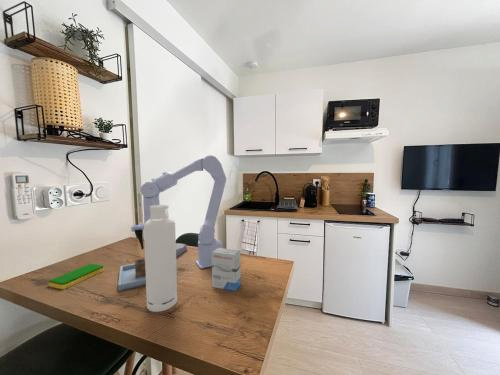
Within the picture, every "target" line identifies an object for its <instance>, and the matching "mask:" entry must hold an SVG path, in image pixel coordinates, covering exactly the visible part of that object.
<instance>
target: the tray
mask: <svg viewBox="0 0 500 375" xmlns="http://www.w3.org/2000/svg"><path fill="white" fill-rule="evenodd" d="M118 276H119V277H118V282H117V290H118V292H122V291H127V290H131V289H135V288H139V287H144V286H146V276H143V277H139V278H136V273H135V263H131V264H125V265H121V266H120V267H119V275H118Z"/></svg>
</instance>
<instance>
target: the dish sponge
mask: <svg viewBox="0 0 500 375" xmlns="http://www.w3.org/2000/svg"><path fill="white" fill-rule="evenodd" d="M104 271H105V269H104V265H102V264H96V263H95V264H94V263H90V264H86V265H84V266H81V267H79V268H76V269H74V270H72V271H69V272H66V273H65V274H64V273H63V274H62V275H59V276H57V277H53V278H51V279H49V280H48V286H49V287H50V288H56V289H60V290H65V289H68V288H69V287H71V286H74V285H76V284H78V283H80V282H83V281H84V280H86V279H89V278H92V277H94V276H96V275H97V274H101V273H103V272H104Z"/></svg>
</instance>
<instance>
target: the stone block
mask: <svg viewBox="0 0 500 375" xmlns="http://www.w3.org/2000/svg"><path fill="white" fill-rule="evenodd" d="M187 246H188V245H187V243H186V244H185V243H178V242H176V258H178V257H179V256H180V255H182V254H183V253H185V252H186V251H187V249H188V247H187Z"/></svg>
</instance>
